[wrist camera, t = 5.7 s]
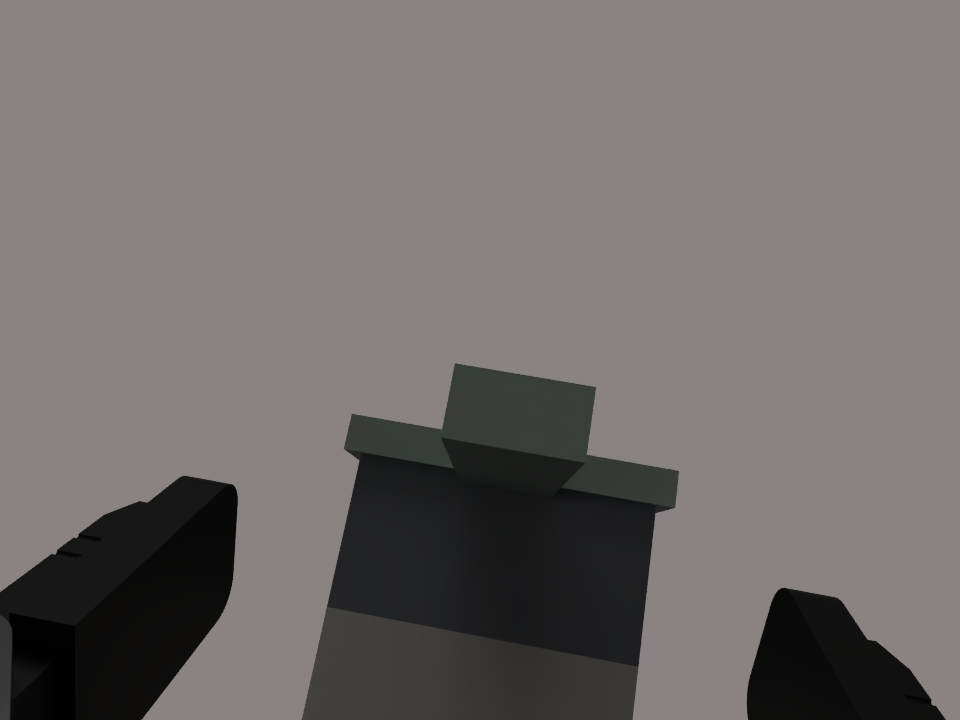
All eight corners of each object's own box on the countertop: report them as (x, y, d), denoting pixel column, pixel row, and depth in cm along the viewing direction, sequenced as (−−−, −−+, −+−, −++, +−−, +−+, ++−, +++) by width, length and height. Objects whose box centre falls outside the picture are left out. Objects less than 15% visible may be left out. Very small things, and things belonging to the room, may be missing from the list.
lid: (784, 497, 14) (790, 419, 15) (253, 404, 15) (272, 333, 15) (616, 531, 33) (620, 498, 34) (387, 490, 34) (395, 457, 35)
